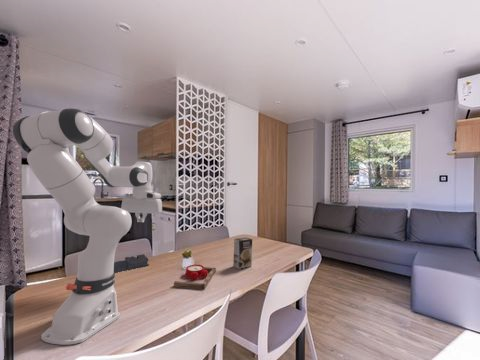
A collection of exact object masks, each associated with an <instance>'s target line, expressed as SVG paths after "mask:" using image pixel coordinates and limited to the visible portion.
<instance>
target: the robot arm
mask: <svg viewBox="0 0 480 360" xmlns="http://www.w3.org/2000/svg"><path fill="white" fill-rule="evenodd" d="M12 133H13V134H12V135H13V137H14V139H15V141H16V143H17V144H18V145H19V146H20V147H21V149H22V150H23V151H25V152H26V153H27V156H26V157H27V158H26V162H27V163H28V165H29V167H30V169H31V171H32V173H33V174H34V176H35V177H36V179H37V180H38V181H39V182H40V184H41V185H42V187H44V189H46V191H47V192H48V193H49V195H50V196H51V197H52V198H53V199H54V201H56V203H57V204H58V205H59V206H60V208H61V210H62V211H63V213H64V217H63V224H64V226H65V228H66V229H68V231H71V232H73V233H75V234H78V235H82V236H89V238H88V239H89V240H88V243H87V245H86V248H85V249H83V250H82V251H81V252H79V254H78V256H77V273H76V274H77V277H75V280H74V283H67V284H66V286H65V290H66V291H71V293H70V294H69V295H68V296H67V298H66V299H65V300H64V301H63V303H62V304H61V305H60V306H59V308H57V310H56V312H54V315H53V317H52V323H51V326H49V327H48V328H47V329H46V330H45V331H44V332H43V333H42V334H41V335H40V338H41V340H42V341H43V342H45V343H48V344H53V345H63V346H64V345H65V346H67V345H69V346H70V345H76V344H79V343H83V342H84V341H86V340H87V339H89V338H90V337H93V335H96V334H97V333H98V332H99V331H101V330H103V329H104V328H106V327H107V326H108V325H111V324H112V323H114V322H115V321H116V320H118V319H119V318H120V317H121V313H120V312H119V311H118V300H117V299H118V298H117V297H118V296H117V291H116V290H115V286H114V284H115V283H116V282H115V281H116V273H115V272H114V262H115V257H116V256H115V254H116V250H117V247H118V245H119V242H120V240H121V239H122V238H123V237H124V236H125V235H127V233H128V232H129V231H130V229H131V227H132V223H133V221H132V216H131V213H135V214H134V215H135V217H136V220H137V221H136V222H137V223H144V222H145V220H146V217H147V216H148V214H152V215H153V214H155V215H159V214H161V213H162V212H163V201H162V199H161V198H162V194H161V193H158V192H156V191H155V190H153V188H152V187H153V186H152V182H153V166H152V164H151V163H150V162H148V161H144V160H137V161H136V162H135V163H134V164H133V165H129V166H117V165H114V164H111V163H110V162H109V161H108V159H107V157H108V156H110V154H111V152H112V150H113V148H114V141H113V139H112V137H111V135H110V134H109V133H108V132H107V130H105V129H104V128H103V127H102V126H101V125H100V124H99V123H98V121H96V120H95V119H94V118H92V116H89V115H88V114H87V113H86V112H84V111H83V110H81V109H79V108H64V109H62V110H61V109H60V110H59V109H58V110H50V111H42V112H39V113H35V114H33V115H29V116H24V117H22V118H20V119H18V120H17V121H15V123H14V124H13V125H12ZM71 146H76V147H77V148H78V149H79V150H80V151H82V155H83V157H84V159H85V160H86V161H87V162H88V163H89V164H90V166H91V167H92V168H93V169H94V170H95V171H96V172H97V173H98V174H99V175H100V177H101V178H102V180H103V182H104V183H105V185H106V186H108V187H110V188H132V193H125V194H123V195H122V200H121V205H120V207H117V206H111V205H103V204H102V205H101V204H100V203H98V202H97V201H96V200H95V197H94V196H95V195H96V185H95V184H94V183H93V182H92V180H91V179H90V177H89V176H88V175H87V173H86V171H85V170H84V169H83V168H82V166H81V165H80V164H79V163H78V161H77V160H76V159H75V158H74V157H73V155H72V154H71V153H70V150H69V147H71ZM141 214H142V217H141V216H140V215H141Z"/></svg>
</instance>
